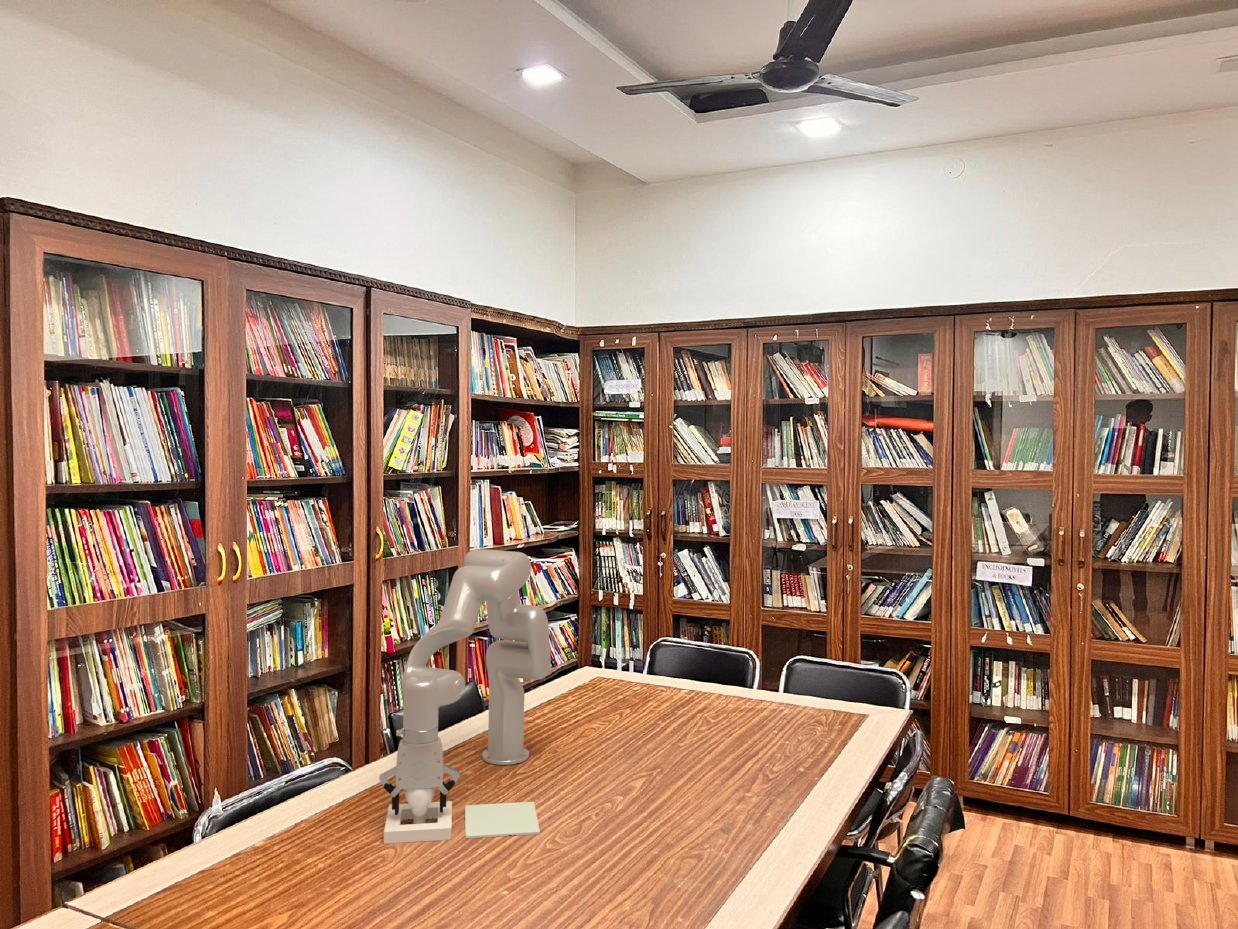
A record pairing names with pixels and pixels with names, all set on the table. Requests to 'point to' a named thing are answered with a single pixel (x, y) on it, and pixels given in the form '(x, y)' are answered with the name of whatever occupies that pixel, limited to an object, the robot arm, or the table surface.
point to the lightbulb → (419, 803)
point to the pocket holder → (418, 831)
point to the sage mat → (500, 820)
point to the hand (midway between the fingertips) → (419, 811)
